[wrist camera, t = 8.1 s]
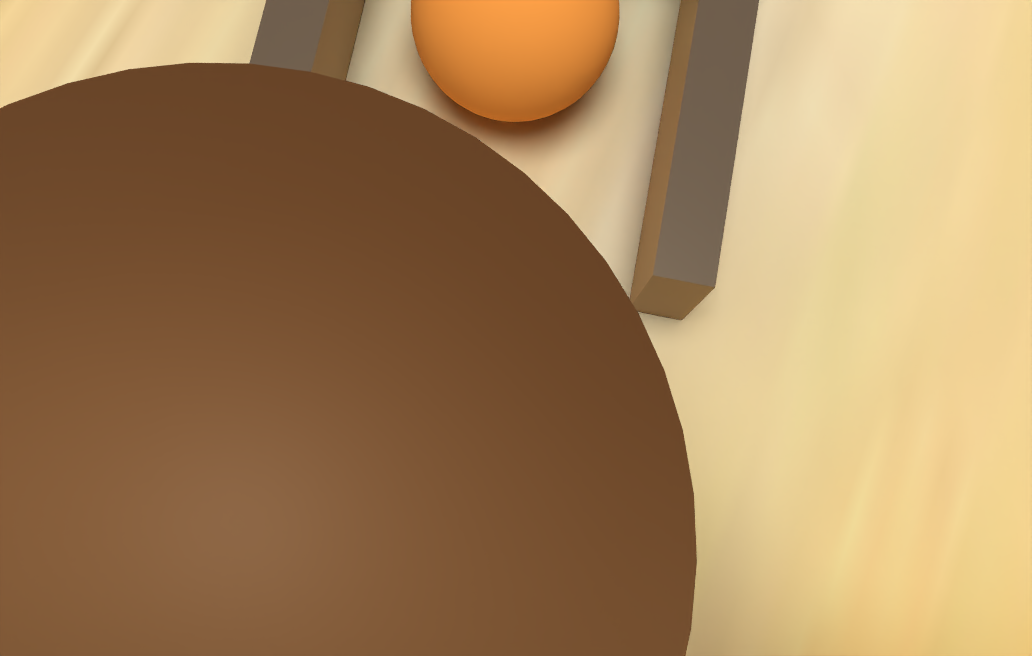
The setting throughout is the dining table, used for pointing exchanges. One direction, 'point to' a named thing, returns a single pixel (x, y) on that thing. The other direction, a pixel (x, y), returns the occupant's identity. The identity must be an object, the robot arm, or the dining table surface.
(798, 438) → the dining table surface
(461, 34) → the ball
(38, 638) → the slider
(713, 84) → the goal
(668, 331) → the dining table surface
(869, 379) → the dining table surface
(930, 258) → the dining table surface
